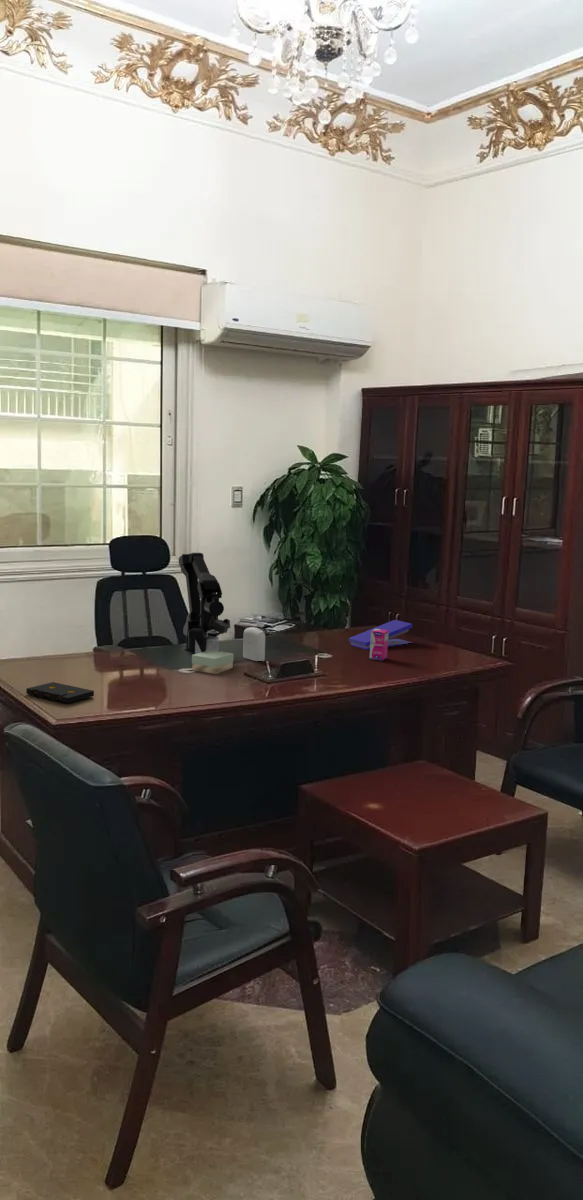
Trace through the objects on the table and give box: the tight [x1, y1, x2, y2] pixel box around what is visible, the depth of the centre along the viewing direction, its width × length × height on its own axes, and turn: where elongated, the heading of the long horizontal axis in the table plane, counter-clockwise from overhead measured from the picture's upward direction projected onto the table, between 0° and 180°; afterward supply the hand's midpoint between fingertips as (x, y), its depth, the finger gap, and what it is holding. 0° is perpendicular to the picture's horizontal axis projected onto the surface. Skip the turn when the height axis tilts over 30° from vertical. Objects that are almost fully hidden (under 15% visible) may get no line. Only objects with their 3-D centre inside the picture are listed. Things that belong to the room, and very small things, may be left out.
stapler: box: [348, 619, 414, 651], centre depth 389 cm, size 12×28×10 cm, turn 129°
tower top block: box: [191, 650, 234, 667], centre depth 332 cm, size 10×12×3 cm
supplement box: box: [369, 629, 389, 662], centre depth 361 cm, size 6×6×12 cm
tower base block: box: [191, 661, 234, 675], centre depth 332 cm, size 10×12×3 cm
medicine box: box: [194, 636, 220, 654], centre depth 347 cm, size 8×4×9 cm, turn 66°
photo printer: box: [242, 626, 266, 662], centre depth 350 cm, size 10×4×12 cm, turn 39°
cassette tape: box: [25, 681, 95, 704], centre depth 288 cm, size 18×12×2 cm, turn 59°
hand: (206, 652), depth 348 cm, fingers closed on medicine box, 4 cm apart
